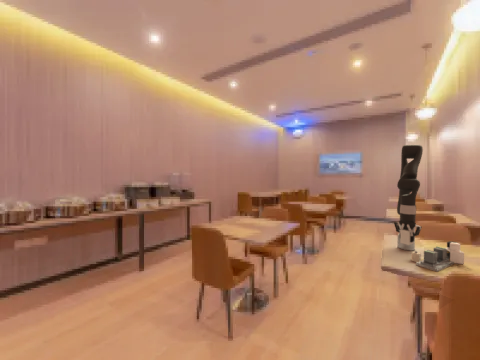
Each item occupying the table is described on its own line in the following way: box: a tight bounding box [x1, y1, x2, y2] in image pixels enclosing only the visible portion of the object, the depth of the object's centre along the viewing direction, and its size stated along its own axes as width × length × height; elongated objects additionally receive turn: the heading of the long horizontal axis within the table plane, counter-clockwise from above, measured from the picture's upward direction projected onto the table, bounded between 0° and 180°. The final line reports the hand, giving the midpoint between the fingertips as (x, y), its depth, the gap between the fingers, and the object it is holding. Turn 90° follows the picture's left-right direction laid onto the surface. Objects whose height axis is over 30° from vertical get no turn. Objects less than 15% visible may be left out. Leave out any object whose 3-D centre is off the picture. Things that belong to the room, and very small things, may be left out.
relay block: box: [410, 250, 422, 263], centre depth 139 cm, size 4×4×6 cm
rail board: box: [415, 246, 455, 272], centre depth 133 cm, size 10×22×9 cm, turn 118°
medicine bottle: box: [445, 240, 465, 265], centre depth 138 cm, size 7×7×12 cm
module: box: [400, 229, 413, 245], centre depth 133 cm, size 4×5×8 cm
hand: (406, 240), depth 133 cm, fingers closed on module, 4 cm apart
